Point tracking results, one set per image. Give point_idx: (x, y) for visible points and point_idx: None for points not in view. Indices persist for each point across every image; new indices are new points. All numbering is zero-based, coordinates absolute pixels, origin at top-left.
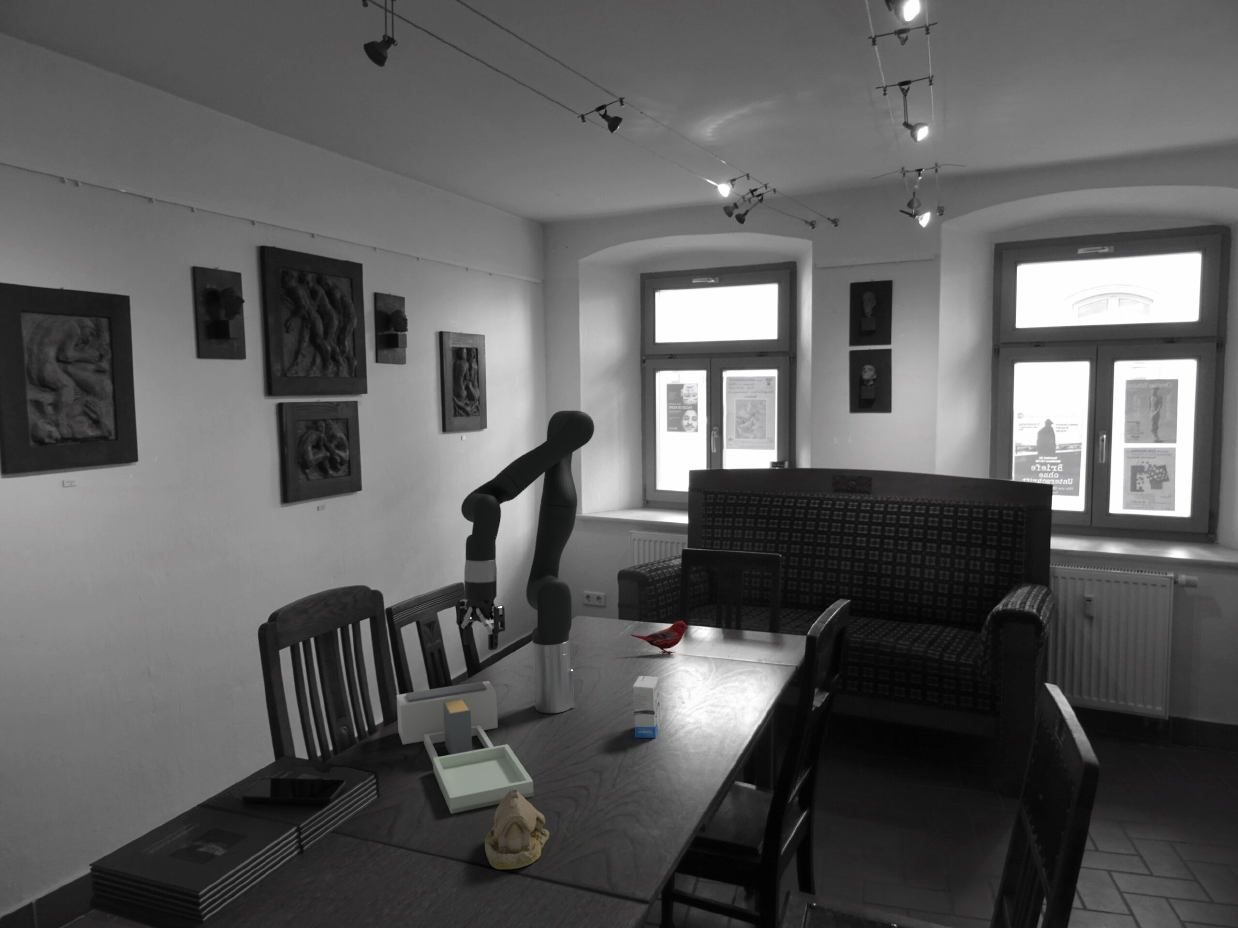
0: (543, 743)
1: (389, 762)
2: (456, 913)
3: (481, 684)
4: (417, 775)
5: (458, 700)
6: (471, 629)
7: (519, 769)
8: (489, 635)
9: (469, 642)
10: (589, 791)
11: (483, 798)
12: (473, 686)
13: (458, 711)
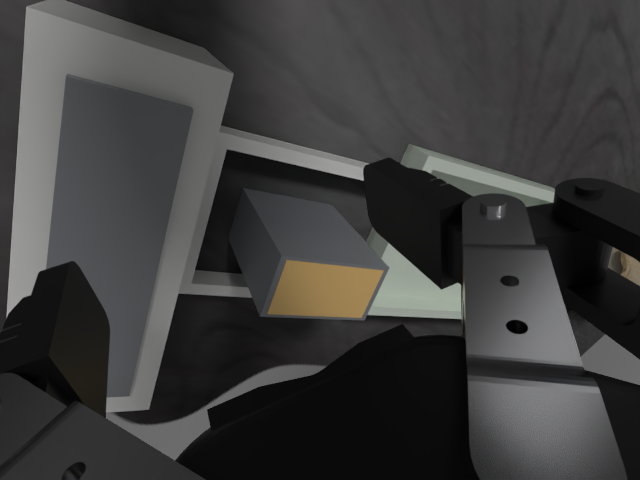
0: (417, 11)
1: (233, 356)
2: (596, 338)
3: (124, 104)
4: (332, 321)
5: (282, 272)
6: (60, 356)
7: (528, 195)
8: (447, 278)
9: (88, 292)
10: (621, 98)
11: None
12: (131, 153)
13: (369, 297)
